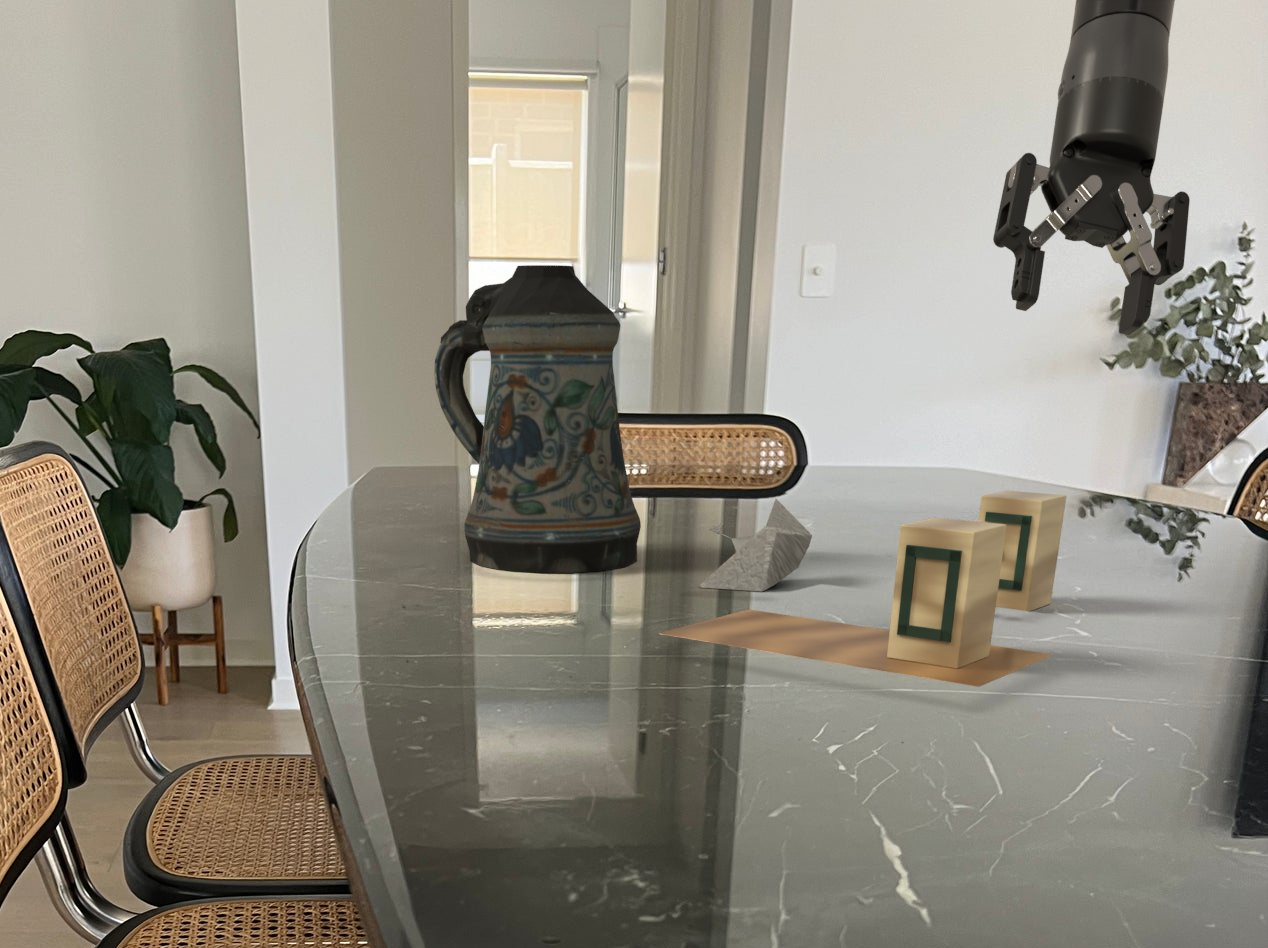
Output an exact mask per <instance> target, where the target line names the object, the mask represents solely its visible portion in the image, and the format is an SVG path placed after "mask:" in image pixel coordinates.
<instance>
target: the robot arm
mask: <svg viewBox="0 0 1268 948" xmlns="http://www.w3.org/2000/svg"><path fill="white" fill-rule="evenodd" d="M1175 2H1176V0H1075V3H1074V4H1075V5H1074V13H1073V20H1072V28H1071V33H1070V42H1069V45H1068V51H1067V55H1066V58H1065V61H1064V65H1063V69H1062V73H1061V78H1060V84H1059V86H1058V90H1057V105H1056V111H1055V119H1054V127H1053V133H1052V134H1053V136H1052V141H1051V147H1050V153H1049V154H1050V155H1049V167H1047V166H1045V165H1042V164H1038V160H1037V156H1035V155H1034V154H1033V153H1031V152H1026V153H1024V154H1023V155H1022V156H1021V157H1020V158H1019V159H1018V160H1017V161H1016V162H1015V163H1014V165H1012V166H1011V168H1010V169H1008V171H1007V172H1006V174H1005V178H1004V183H1003V189H1002V193H1001V199H1000V203H999V207H998V213H997V218H996V223H995V228H994V233H993V238H992V240H993V244H994V245H995V246H996V247H998V248H1000V249H1002V248H1007V249H1008V250H1010V251H1011V252H1012V253H1013V255H1014V258H1015V262H1014V269H1013V277H1012V285H1011V290H1010V294H1011V300H1012V301H1015V309H1016V310H1019V311H1023V312H1027V311H1028V310H1030V308H1032V307H1033V306H1034V305H1035V304H1036V303H1037V301H1038V299H1039V296H1040V291H1041V290H1040V289H1041V283H1042V276H1043V268H1044V261H1045V255H1046V251H1045V250H1042V247H1043V246H1044V245H1045V244H1046V243H1047V242H1048V241H1049V240H1050V239H1051V238H1052V237H1053V236H1054V235H1055V234H1056V233H1057V232H1058V231H1059V232H1060V233H1061V234H1063V235H1064V240H1067V241H1070V242H1085V243H1087V244H1089V245H1090V246H1092V247H1095V248H1096V247H1097V248H1099V249H1103V248H1104V247H1106V248H1107V250H1108V252H1109V254H1110V256H1111V259H1112V261H1113V262H1114V263H1115V264H1118V265H1119V266H1120V267H1121V269H1122V271H1123V273H1124V276H1125V278H1126V280H1127V282H1128V284H1127V285H1126V286H1124V291H1123V298H1122V306H1121V312H1120V320H1119V327H1118V333H1119V334H1120V335H1125V336H1130V335H1131V334H1133V333H1135V332H1136V331H1137V330H1139V329H1140V328H1141V327H1142V326H1143V325H1144V324H1145V323H1147V322H1148V321H1149V318H1150V317H1151V312H1152V305H1153V300H1154V299H1153V298H1154V292H1155V286H1161V285H1163V284H1164V283H1166V282H1167V281H1168V280H1169V279H1171V278H1172V277H1173V276H1175V275H1176V274H1178V273H1179V272H1181V271H1182V270H1183V269H1184V266H1185V256H1186V245H1187V235H1188V223H1189V222H1188V221H1189V212H1190V201H1191V200H1190V196H1189V194H1188V193H1187V192H1186V191H1182V190H1181V191H1178V192H1177V193H1175V194H1174V195H1173V196H1168V195H1163V194H1157V193H1155V192H1154V190H1153V187H1152V182H1151V175H1152V172H1153V168H1154V165H1155V161H1156V157H1157V150H1158V144H1159V136H1160V131H1161V124H1162V123H1161V122H1162V116H1163V110H1164V109H1163V108H1164V104H1165V103H1164V102H1165V96H1166V95H1165V94H1166V88H1167V81H1168V74H1169V45H1170V44H1169V43H1170V35H1171V30H1172V29H1171V28H1172V22H1173V15H1174V8H1175ZM1039 187H1040V191H1041V193H1042V196H1043V198H1044V199H1045V202H1046V204H1047V206H1048V209H1049V211H1050V213H1049V214H1048V215H1047V216H1046V217H1045V218H1044V219H1043V220H1042V221H1041V222H1040V223H1039V224H1038V225H1037V226H1036V227H1034V229H1033V230H1031V229H1030V228H1028V227H1027V226H1026V225H1025V224H1026V219H1027V218H1026V217H1027V213H1028V208H1029V203H1030V198H1031V195H1032V194H1033V193H1035V191H1036V190H1037V189H1038V188H1039ZM1145 213H1148V215H1149V216H1150V221H1151V222H1150V226H1149V225H1148V223H1147V221H1146V218H1145V216H1144V214H1145ZM1151 229H1153V230H1154V237H1153V234H1152V231H1151ZM1128 232H1129V235H1130V239H1129V241H1128V242H1126V240H1125V238H1124V235H1125V234H1126V233H1128ZM1152 240H1153V245H1152Z"/></svg>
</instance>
